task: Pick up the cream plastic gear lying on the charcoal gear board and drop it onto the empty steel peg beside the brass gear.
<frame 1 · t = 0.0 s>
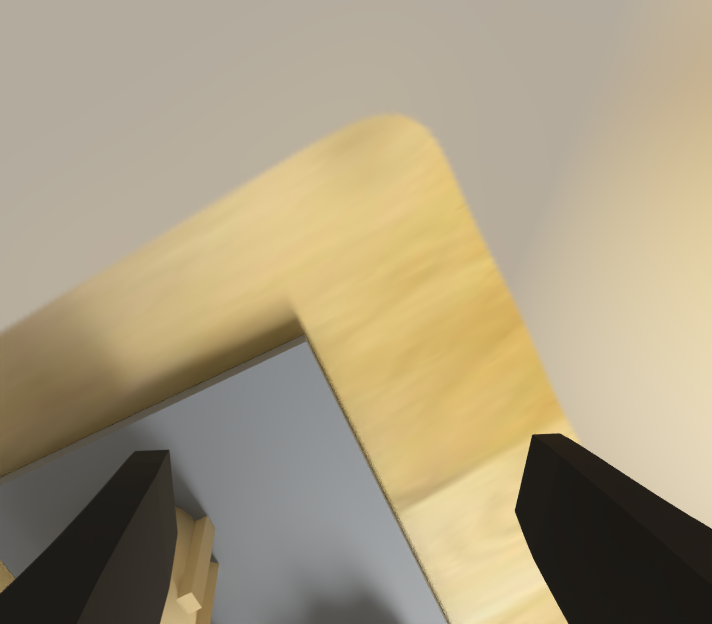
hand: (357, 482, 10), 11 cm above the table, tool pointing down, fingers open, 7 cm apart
gear board: (257, 597, 23), on the table
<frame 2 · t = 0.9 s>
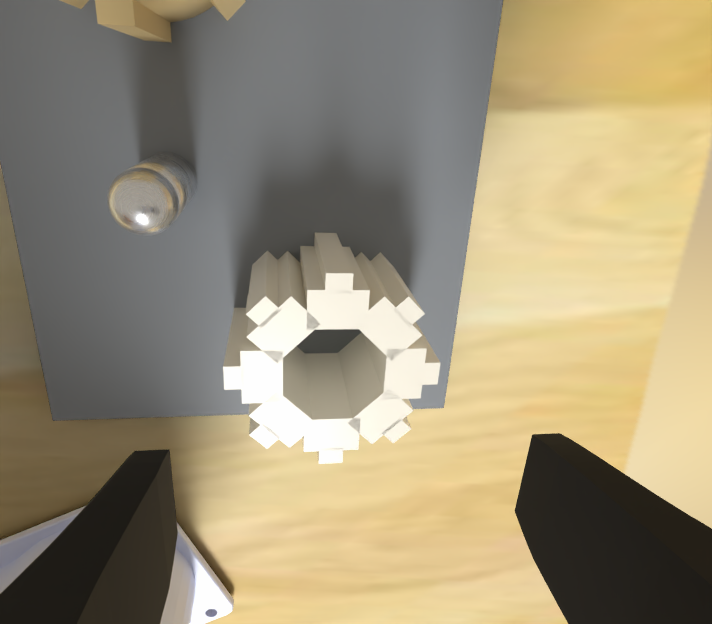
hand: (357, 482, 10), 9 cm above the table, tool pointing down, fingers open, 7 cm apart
steel peg: (175, 175, 16), resting on gear board
gear board: (255, 121, 16), on the table
gear: (322, 316, 18), point 1 cm above the table, touching gear board
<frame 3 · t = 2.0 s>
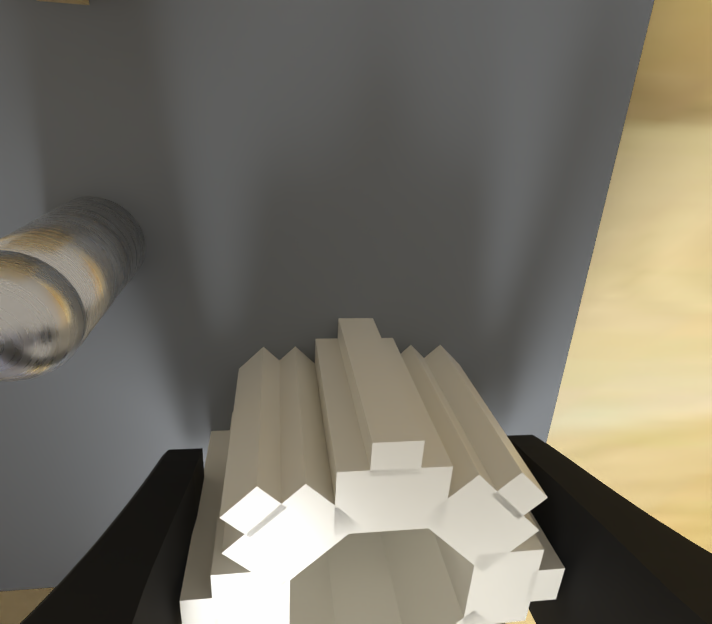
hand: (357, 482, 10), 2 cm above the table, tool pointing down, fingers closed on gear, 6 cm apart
steel peg: (113, 228, 10), resting on gear board
gear board: (243, 142, 10), on the table
gear: (348, 438, 12), point 1 cm above the table, touching gear board, gripper
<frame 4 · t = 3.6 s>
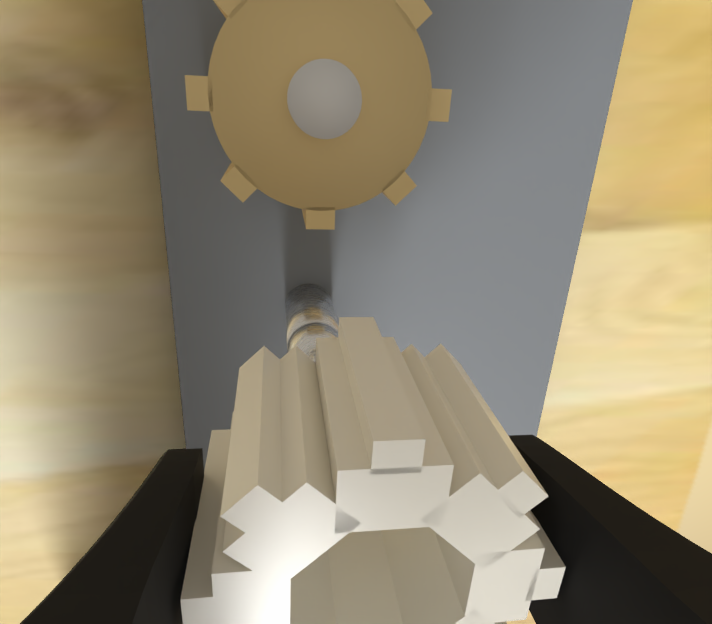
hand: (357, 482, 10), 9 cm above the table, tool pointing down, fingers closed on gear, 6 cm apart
steel peg: (307, 294, 19), resting on gear board
gear board: (378, 249, 18), on the table
gear: (348, 438, 12), point 8 cm above the table, touching gripper
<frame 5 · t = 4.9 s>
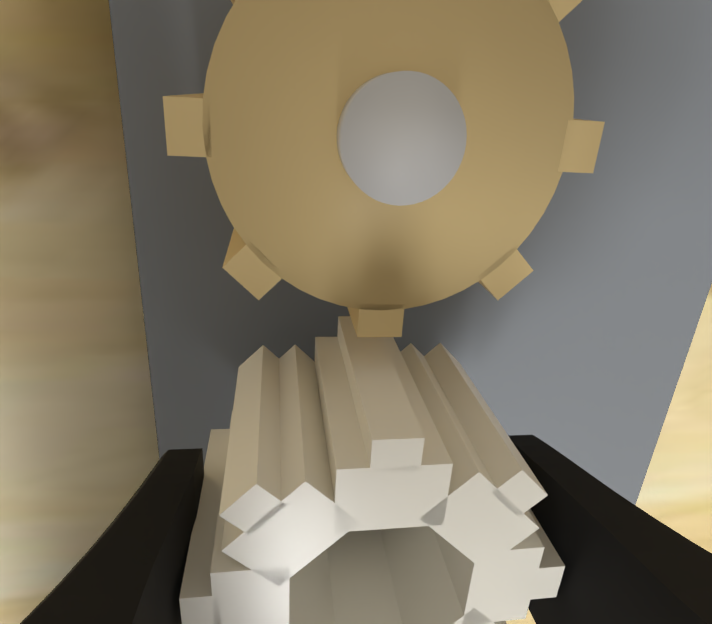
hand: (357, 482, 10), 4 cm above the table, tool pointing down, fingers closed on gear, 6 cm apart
gear board: (432, 320, 14), on the table
gear: (348, 437, 12), point 3 cm above the table, touching gripper
when the fingers open (4 cm above the table, at t = 5.6 s): gear drops 1 cm, resting on gear board.
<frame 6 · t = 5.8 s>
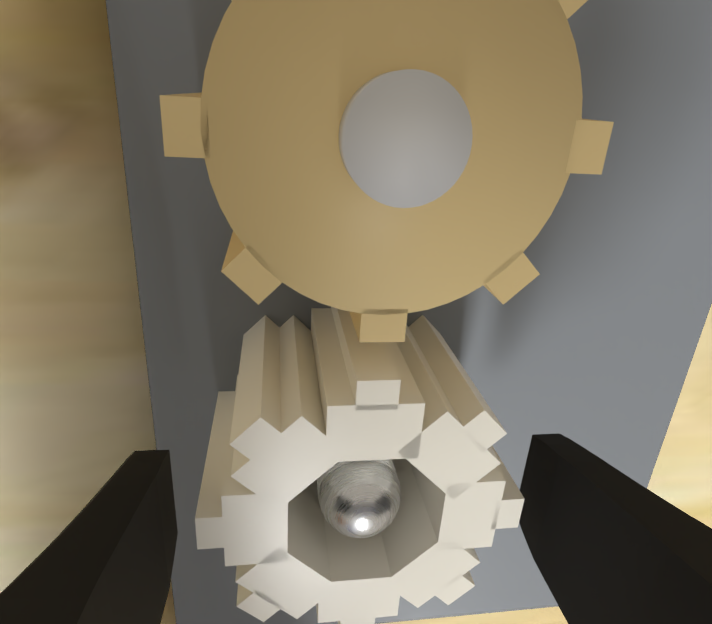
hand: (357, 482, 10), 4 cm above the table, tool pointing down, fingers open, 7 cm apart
steel peg: (336, 381, 14), resting on gear board
gear board: (434, 322, 14), on the table
gear: (340, 400, 13), point 1 cm above the table, touching gear board
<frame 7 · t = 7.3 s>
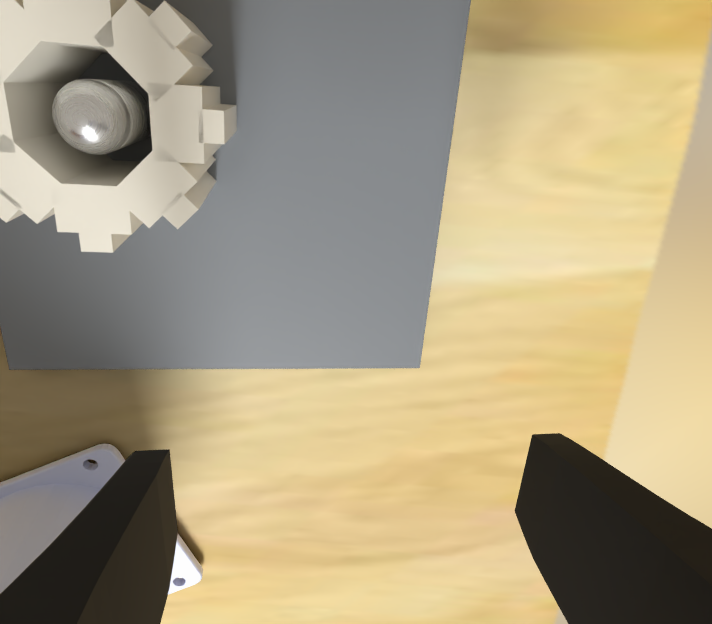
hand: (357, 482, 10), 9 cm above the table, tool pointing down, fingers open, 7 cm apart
steel peg: (137, 110, 16), resting on gear board
gear board: (222, 54, 15), on the table
gear: (129, 110, 15), point 1 cm above the table, touching gear board
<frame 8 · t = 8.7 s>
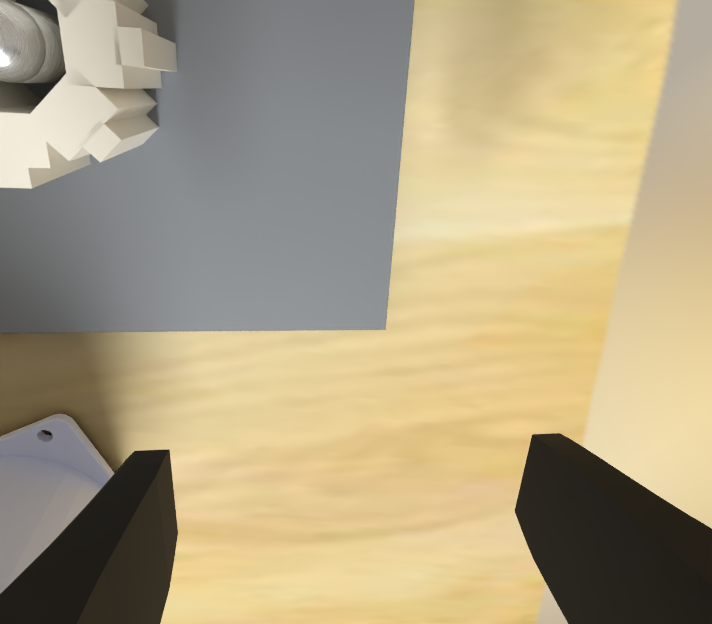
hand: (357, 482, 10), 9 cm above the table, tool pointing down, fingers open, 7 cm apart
steel peg: (74, 53, 15), resting on gear board
gear: (61, 49, 14), point 1 cm above the table, touching gear board
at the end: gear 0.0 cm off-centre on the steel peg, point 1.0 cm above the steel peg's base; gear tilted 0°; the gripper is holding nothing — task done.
